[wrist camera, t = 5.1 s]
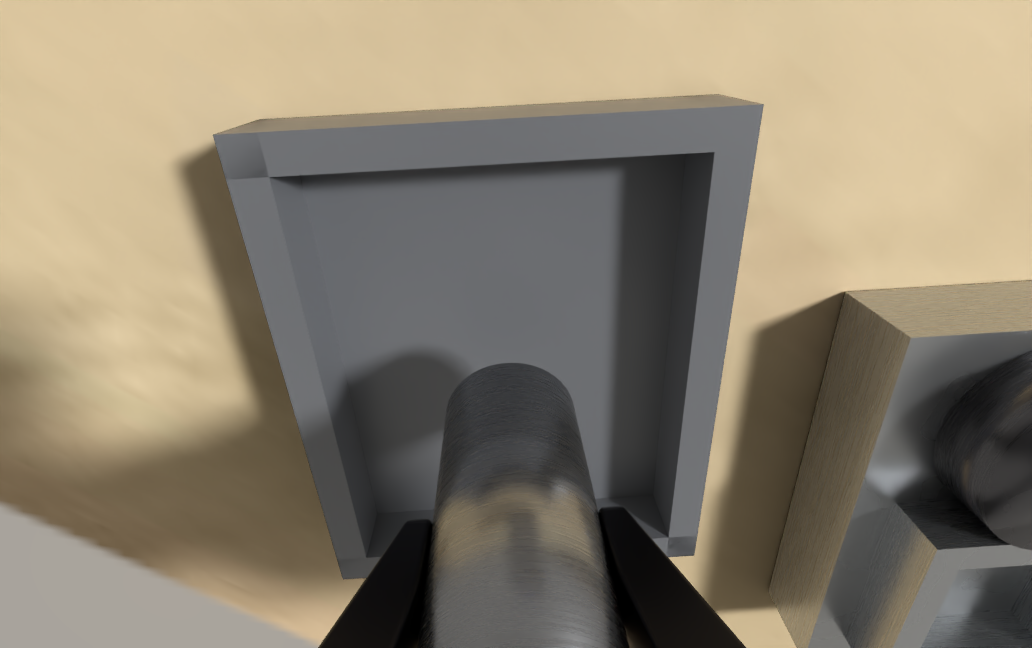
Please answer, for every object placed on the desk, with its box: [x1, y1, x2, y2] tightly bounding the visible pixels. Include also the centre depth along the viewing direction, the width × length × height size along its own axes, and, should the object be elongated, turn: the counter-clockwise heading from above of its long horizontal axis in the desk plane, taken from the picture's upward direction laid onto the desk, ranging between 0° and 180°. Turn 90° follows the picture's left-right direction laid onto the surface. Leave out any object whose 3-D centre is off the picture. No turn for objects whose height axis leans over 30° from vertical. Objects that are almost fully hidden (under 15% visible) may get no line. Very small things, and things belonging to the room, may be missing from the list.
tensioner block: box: [768, 281, 1032, 648], centre depth 15 cm, size 12×8×5 cm, turn 3°
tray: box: [213, 94, 764, 579], centre depth 14 cm, size 12×10×2 cm
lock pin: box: [417, 363, 629, 648], centre depth 8 cm, size 3×3×8 cm
